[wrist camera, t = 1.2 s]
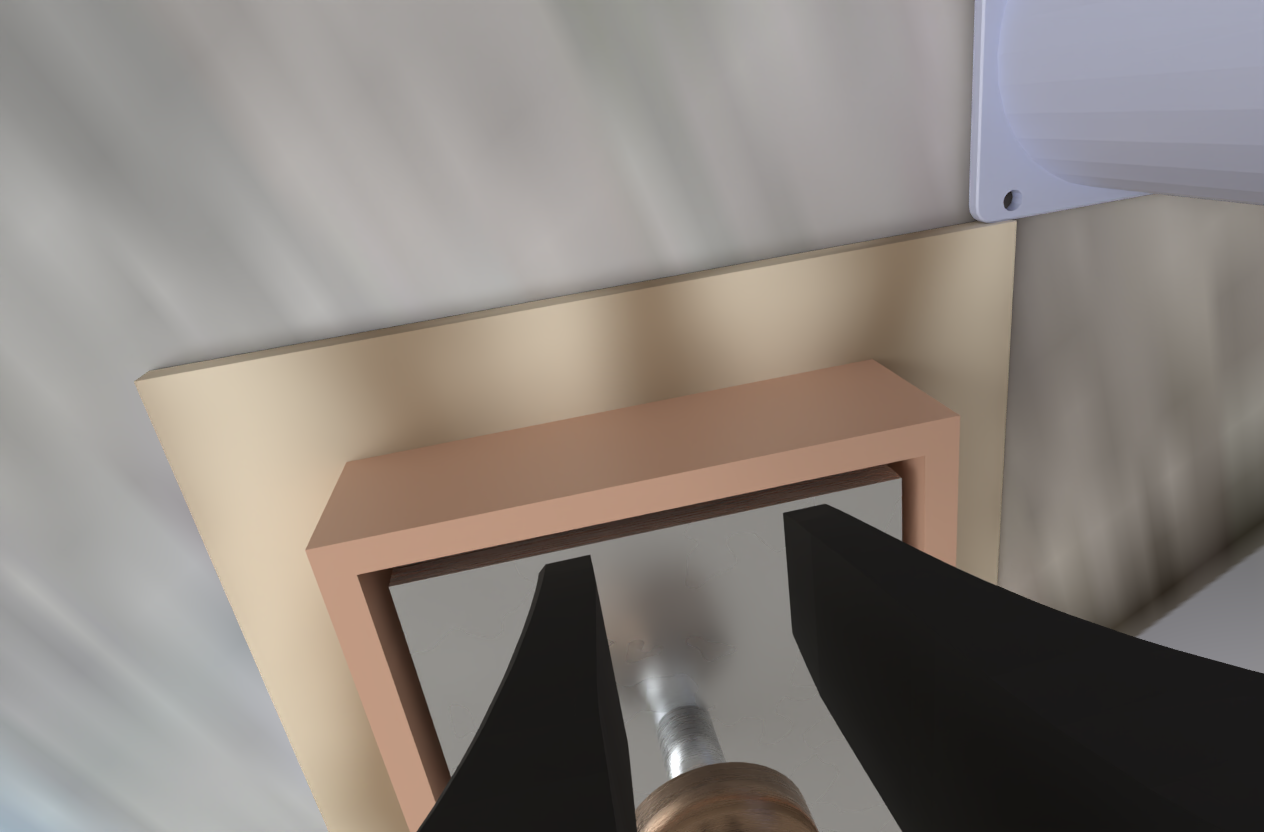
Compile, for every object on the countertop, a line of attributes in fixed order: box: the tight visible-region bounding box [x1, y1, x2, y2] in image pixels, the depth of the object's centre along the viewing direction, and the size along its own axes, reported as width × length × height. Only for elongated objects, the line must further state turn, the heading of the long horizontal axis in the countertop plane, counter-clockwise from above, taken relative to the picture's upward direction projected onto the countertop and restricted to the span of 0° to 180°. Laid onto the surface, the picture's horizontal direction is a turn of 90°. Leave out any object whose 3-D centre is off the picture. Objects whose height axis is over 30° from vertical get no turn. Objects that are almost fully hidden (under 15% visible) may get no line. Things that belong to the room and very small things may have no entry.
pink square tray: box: [305, 359, 960, 832], centre depth 20 cm, size 14×14×4 cm
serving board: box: [134, 220, 1017, 832], centre depth 22 cm, size 22×20×1 cm
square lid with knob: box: [389, 464, 902, 832], centre depth 17 cm, size 11×11×5 cm
